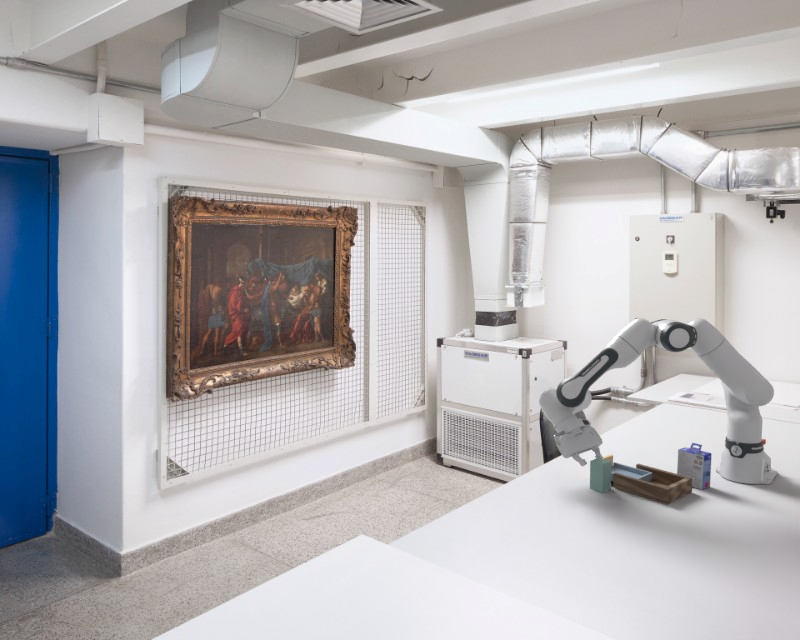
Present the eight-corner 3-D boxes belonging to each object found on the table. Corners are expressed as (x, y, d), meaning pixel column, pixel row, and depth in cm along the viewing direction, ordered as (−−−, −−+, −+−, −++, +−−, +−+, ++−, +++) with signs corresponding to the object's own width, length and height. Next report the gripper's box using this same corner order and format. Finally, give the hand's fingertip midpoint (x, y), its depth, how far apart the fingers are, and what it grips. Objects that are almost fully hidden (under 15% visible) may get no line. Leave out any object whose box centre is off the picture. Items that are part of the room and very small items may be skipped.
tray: (610, 467, 243) (610, 454, 242) (652, 479, 229) (653, 466, 229) (591, 474, 235) (591, 461, 235) (634, 487, 222) (634, 473, 221)
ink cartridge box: (711, 486, 226) (712, 446, 224) (703, 490, 222) (704, 449, 221) (684, 479, 233) (685, 439, 232) (675, 482, 230) (677, 442, 229)
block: (598, 485, 229) (598, 457, 227) (610, 489, 225) (611, 461, 224) (589, 488, 225) (590, 460, 224) (602, 492, 222) (602, 464, 220)
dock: (638, 476, 236) (638, 463, 236) (691, 492, 221) (692, 478, 220) (613, 487, 226) (613, 473, 226) (667, 504, 211) (668, 489, 210)
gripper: (556, 429, 225) (580, 464, 218) (591, 419, 238) (614, 451, 231) (546, 439, 229) (569, 473, 222) (581, 428, 241) (603, 460, 235)
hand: (592, 462), depth 227 cm, fingers open, 8 cm apart
